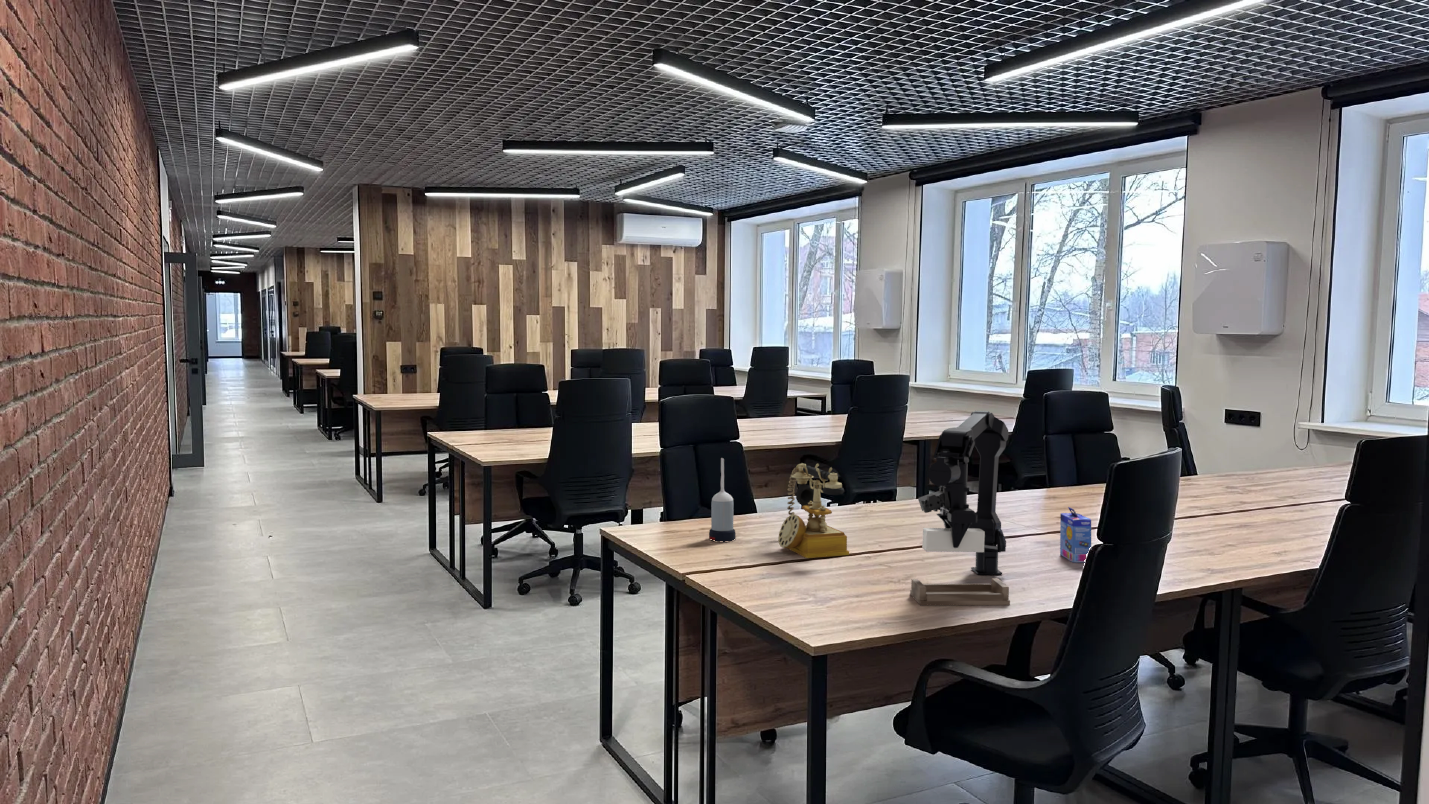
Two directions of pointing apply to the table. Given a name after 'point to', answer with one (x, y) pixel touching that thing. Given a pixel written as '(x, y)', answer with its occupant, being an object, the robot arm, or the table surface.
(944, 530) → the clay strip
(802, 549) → the rotary telephone
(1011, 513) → the table surface
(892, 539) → the table surface
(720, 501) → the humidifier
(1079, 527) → the ink cartridge box
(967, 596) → the tray
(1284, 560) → the table surface
